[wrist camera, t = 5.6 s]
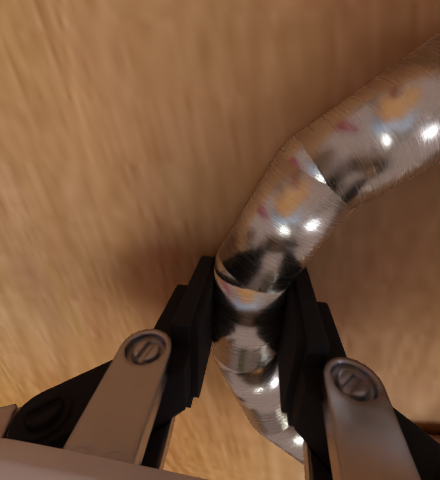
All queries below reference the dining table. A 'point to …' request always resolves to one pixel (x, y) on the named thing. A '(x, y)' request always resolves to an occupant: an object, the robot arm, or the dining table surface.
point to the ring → (315, 220)
